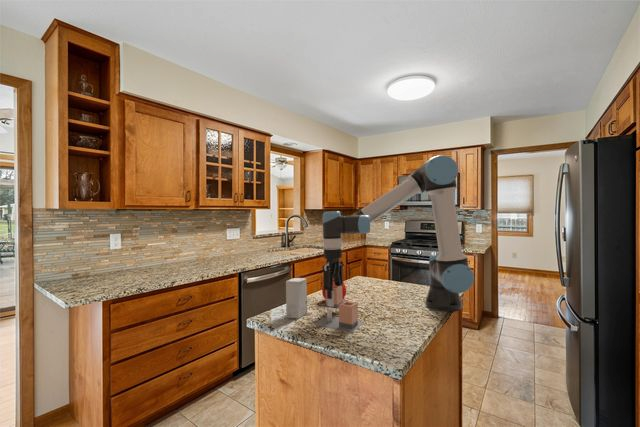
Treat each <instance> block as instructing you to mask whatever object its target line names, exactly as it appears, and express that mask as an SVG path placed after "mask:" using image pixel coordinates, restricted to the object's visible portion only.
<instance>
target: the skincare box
mask: <svg viewBox="0 0 640 427" xmlns="http://www.w3.org/2000/svg"><path fill="white" fill-rule="evenodd" d="M307 281H308V280H307V278H304V277H294V278H290V279H288V280H286V281H285V304H286V305H285V308H286V313H285V315H286V318H289V319H290V318H291V319H297V320H299V319H301V318H302V317H303V316H305V315H307V314H308V290H307V285H308V284H307V283H308V282H307Z"/></svg>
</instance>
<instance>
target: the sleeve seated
mask: <svg viewBox="0 0 640 427" xmlns="http://www.w3.org/2000/svg"><path fill="white" fill-rule="evenodd" d="M358 303H359V302H354V301H349V300H343V302H342V303H341V304H339V308H338V318H339V326H340V327H344V328H349V329H353V328H354V327H355V326H357V325H358V321H359V309H358V308H359V304H358Z"/></svg>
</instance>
